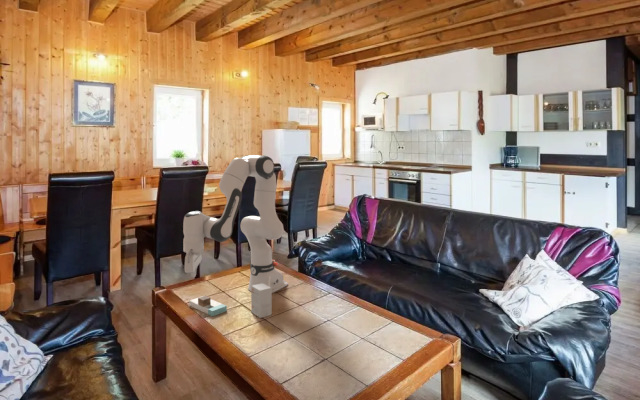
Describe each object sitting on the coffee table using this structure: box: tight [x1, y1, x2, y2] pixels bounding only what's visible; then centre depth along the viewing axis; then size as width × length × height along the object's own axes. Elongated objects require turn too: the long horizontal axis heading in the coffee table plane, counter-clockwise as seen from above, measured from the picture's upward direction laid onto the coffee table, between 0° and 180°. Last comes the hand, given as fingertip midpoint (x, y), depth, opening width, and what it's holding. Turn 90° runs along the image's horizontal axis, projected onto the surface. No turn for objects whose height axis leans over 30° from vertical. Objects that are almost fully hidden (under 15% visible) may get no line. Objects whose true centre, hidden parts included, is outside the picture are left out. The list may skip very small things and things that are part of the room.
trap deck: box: [188, 295, 228, 317], centre depth 194 cm, size 8×18×2 cm, turn 50°
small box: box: [250, 283, 273, 319], centre depth 189 cm, size 8×6×13 cm
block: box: [197, 295, 211, 307], centre depth 192 cm, size 4×4×3 cm
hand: (193, 276), depth 189 cm, fingers closed
